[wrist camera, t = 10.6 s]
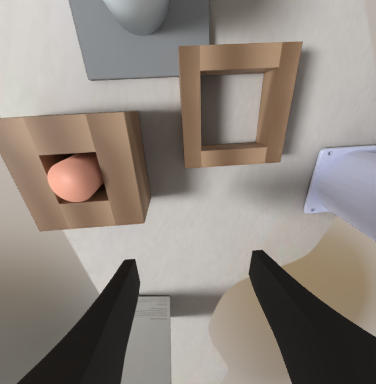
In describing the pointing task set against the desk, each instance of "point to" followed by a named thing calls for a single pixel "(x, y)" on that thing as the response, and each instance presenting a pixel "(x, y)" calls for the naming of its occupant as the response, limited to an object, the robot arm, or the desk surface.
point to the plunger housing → (68, 146)
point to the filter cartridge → (139, 14)
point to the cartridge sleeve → (269, 106)
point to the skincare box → (149, 343)
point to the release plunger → (76, 177)
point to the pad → (137, 40)
